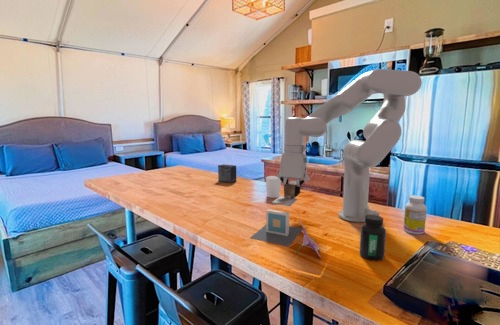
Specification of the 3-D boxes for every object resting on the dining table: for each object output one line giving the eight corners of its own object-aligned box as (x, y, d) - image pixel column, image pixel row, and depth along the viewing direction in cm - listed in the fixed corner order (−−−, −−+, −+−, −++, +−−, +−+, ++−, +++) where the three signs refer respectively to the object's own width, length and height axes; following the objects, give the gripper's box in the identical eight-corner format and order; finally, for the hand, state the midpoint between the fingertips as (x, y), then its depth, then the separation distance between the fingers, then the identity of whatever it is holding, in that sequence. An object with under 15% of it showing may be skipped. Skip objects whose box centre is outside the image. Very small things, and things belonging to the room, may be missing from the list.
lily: (312, 273, 77) (329, 243, 77) (277, 248, 82) (293, 219, 82) (320, 266, 88) (335, 239, 88) (288, 244, 93) (302, 219, 93)
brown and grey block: (303, 193, 117) (304, 182, 116) (290, 206, 102) (290, 193, 101) (287, 191, 120) (288, 180, 119) (272, 203, 105) (272, 190, 104)
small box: (237, 181, 183) (236, 165, 181) (231, 183, 177) (230, 166, 176) (224, 179, 188) (223, 163, 187) (217, 181, 183) (217, 165, 181)
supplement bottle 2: (405, 226, 107) (408, 193, 104) (425, 230, 102) (429, 196, 100) (401, 232, 101) (404, 197, 99) (422, 236, 97) (426, 200, 95)
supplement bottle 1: (376, 263, 80) (378, 223, 78) (354, 254, 85) (356, 216, 83) (388, 256, 84) (391, 218, 82) (367, 248, 89) (369, 211, 87)
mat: (303, 229, 104) (303, 228, 104) (288, 247, 90) (288, 246, 90) (268, 223, 111) (268, 222, 111) (249, 239, 97) (249, 238, 97)
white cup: (280, 198, 144) (280, 179, 142) (264, 197, 145) (264, 178, 143) (281, 194, 151) (281, 176, 150) (267, 193, 153) (267, 175, 151)
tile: (288, 234, 99) (289, 212, 98) (287, 236, 98) (287, 214, 96) (268, 230, 103) (268, 209, 102) (266, 232, 101) (266, 210, 100)
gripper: (317, 149, 110) (314, 195, 113) (277, 147, 118) (276, 189, 121) (312, 151, 104) (309, 200, 107) (270, 148, 111) (269, 193, 114)
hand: (291, 194), depth 114 cm, fingers closed on brown and grey block, 3 cm apart
